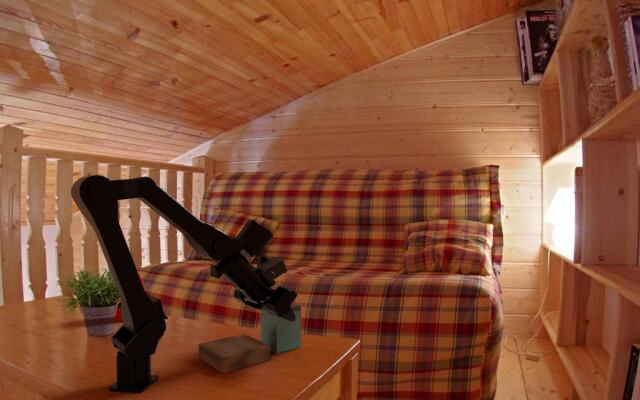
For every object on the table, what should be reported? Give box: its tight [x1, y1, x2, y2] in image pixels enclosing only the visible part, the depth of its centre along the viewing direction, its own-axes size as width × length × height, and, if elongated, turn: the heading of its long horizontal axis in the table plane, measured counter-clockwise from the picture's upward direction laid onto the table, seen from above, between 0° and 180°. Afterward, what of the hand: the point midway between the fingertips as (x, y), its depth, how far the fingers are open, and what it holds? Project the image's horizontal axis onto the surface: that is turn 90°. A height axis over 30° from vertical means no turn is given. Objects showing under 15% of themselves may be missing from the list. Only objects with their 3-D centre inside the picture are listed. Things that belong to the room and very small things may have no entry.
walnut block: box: [198, 333, 271, 374], centre depth 97 cm, size 11×11×3 cm
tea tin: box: [260, 302, 302, 355], centre depth 105 cm, size 7×7×10 cm
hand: (285, 316), depth 106 cm, fingers closed on tea tin, 7 cm apart
